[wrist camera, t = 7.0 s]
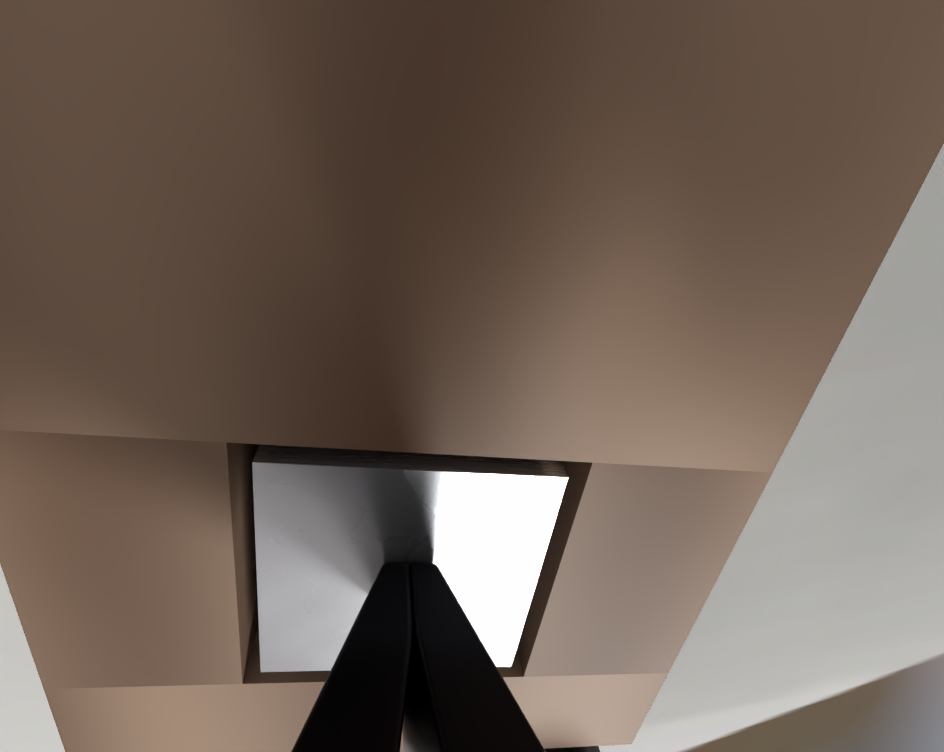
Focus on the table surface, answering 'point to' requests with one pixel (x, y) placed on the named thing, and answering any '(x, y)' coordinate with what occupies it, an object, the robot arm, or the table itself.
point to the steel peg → (393, 540)
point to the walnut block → (420, 307)
